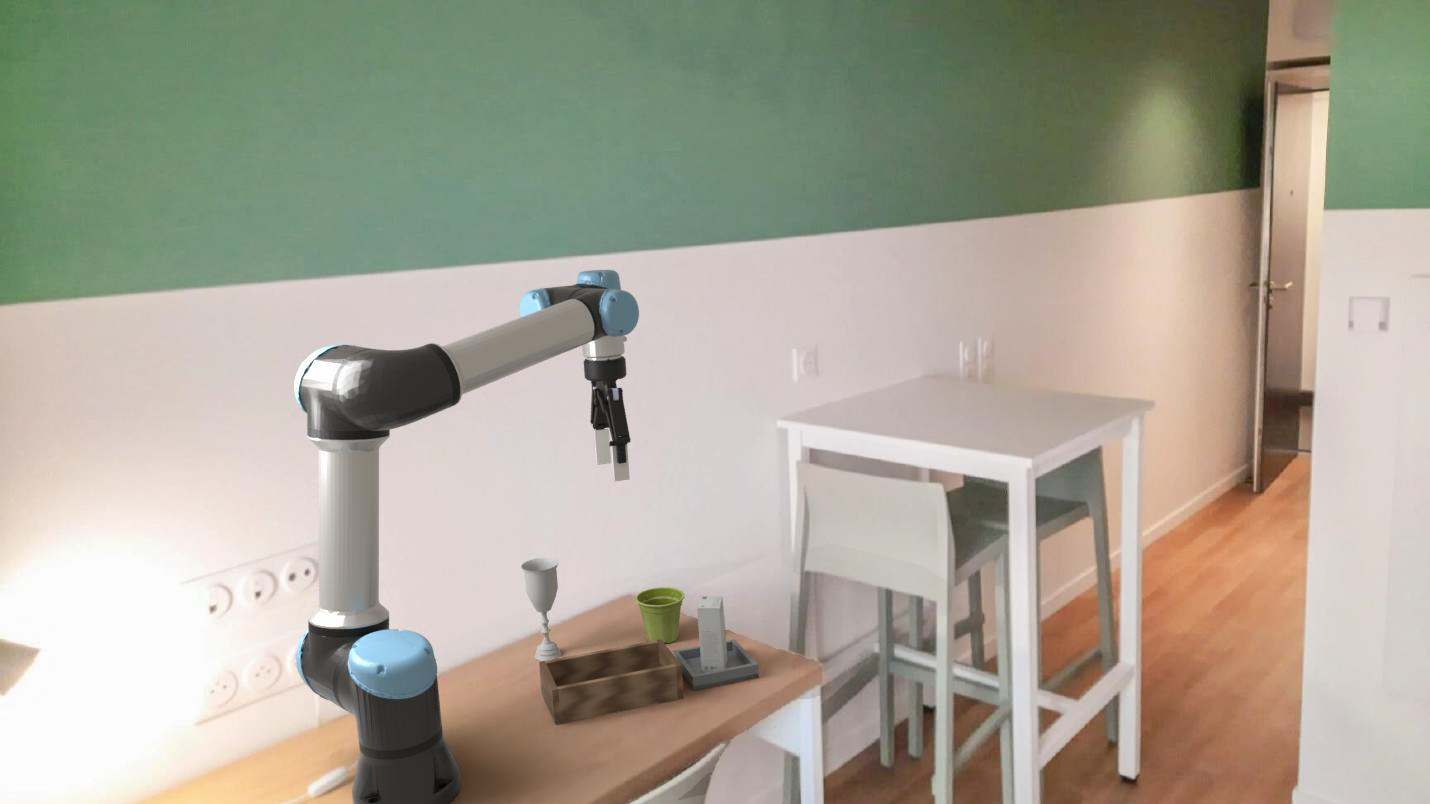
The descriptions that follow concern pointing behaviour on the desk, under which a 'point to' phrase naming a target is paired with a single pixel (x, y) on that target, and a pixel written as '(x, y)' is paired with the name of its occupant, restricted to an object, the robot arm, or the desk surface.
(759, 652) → the desk surface
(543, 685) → the walnut box
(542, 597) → the chalice
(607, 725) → the desk surface
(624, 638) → the desk surface
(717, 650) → the skincare box
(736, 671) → the charcoal tray
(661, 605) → the plant pot
